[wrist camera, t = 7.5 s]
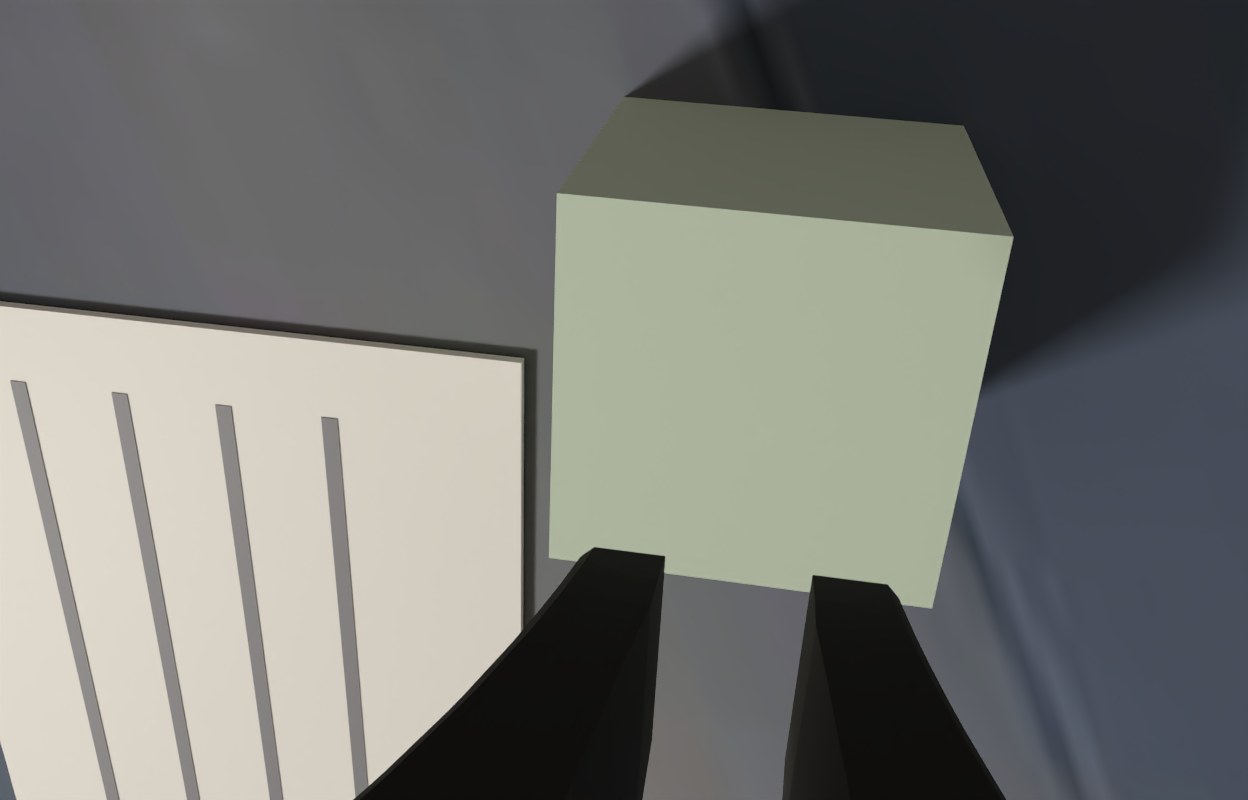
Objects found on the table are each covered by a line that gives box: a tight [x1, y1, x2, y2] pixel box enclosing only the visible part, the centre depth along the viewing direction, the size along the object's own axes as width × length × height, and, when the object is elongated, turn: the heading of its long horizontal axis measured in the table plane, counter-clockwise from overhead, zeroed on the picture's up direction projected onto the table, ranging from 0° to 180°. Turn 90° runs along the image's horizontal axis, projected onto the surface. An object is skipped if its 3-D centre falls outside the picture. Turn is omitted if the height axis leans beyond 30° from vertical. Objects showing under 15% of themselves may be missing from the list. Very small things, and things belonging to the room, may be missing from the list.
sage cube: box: [549, 97, 1014, 608], centre depth 16 cm, size 5×5×5 cm
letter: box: [0, 301, 524, 800], centre depth 24 cm, size 12×16×1 cm
